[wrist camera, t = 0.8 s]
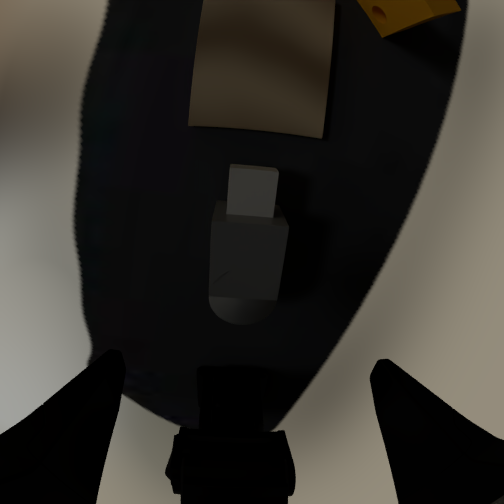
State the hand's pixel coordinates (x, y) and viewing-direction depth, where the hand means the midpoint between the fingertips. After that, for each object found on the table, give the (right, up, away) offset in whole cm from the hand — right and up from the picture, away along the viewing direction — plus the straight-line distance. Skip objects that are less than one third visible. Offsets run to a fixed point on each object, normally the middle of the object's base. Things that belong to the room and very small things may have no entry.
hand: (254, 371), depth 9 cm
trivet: (+1, +16, +5) cm, 17 cm away
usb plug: (0, +6, +10) cm, 12 cm away
